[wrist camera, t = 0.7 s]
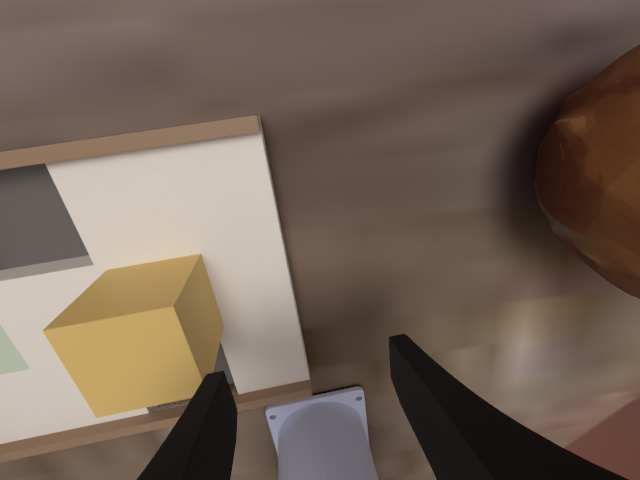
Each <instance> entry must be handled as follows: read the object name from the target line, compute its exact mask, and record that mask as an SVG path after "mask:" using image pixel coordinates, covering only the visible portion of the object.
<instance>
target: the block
mask: <svg viewBox="0 0 640 480" xmlns="http://www.w3.org/2000/svg"><path fill="white" fill-rule="evenodd" d="M223 329H224V324H223V321H222V318H221V315H220V312H219V308H218V305H217V302H216V299H215V296H214V293H213V290H212V287H211V283H210V280H209V277H208V274H207V271H206V268H205V265H204V262H203V258H202V255H201V254H195V255H190V256H184V257H178V258H172V259H166V260H161V261H155V262H149V263H143V264H138V265H132V266H126V267H120V268H115V269H109V270H106V271H105V272H104V273H103V274H102V275H101V276H100V277H99V278H98V279H97V280H96V281H94V282H93V283H92V284H91V285H90V286H89V287H88V288H87V289H86V290H85V291H84V292H83V293H82V294H81V295H80V296H79V297H77V298H76V299H75V300H74V301H73V302H72V303H71V304H70V305H69V306H68V307H67V308H66V309H65V310H64V311H63V312H61V313H60V314H59V315H58V316H57V317H56V318H55V319H54V320H53V321H52V322H51V323H50V324H49V325H48V326H47V327H46V328H44V329H43V330H42V331H43V333H44V334H45V336H46V337H47V339H48V341H49V342H50V344H51V346H52V347H53V349H54V350H55V352H56V354H57V355H58V357H59V358H60V360H61V362H62V363H63V365H64V366H65V368H66V370H67V371H68V373H69V374H70V376H71V378H72V379H73V381H74V382H75V384H76V386H77V387H78V389H79V391H80V392H81V394H82V395H83V397H84V399H85V400H86V402H87V403H88V405H89V407H90V408H91V410H92V411H93V413H94V415H95V416H96V418H98V417H103V416H108V415H112V414H117V413H122V412H127V411H132V410H136V409H141V408H146V407H151V406H156V405H161V404H165V403H170V402H175V401H180V400H185V399H189V398H192V397H193V396H194V394H195V392H196V391H197V389H198V387H199V386H200V384H201V382H202V381H203V379H204V377H205V376H206V375H207V374H209V373H213V371H214V367H215V362H216V358H217V354H218V350H219V345H220V341H221V337H222V333H223Z"/></svg>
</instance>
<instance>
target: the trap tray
mask: <svg viewBox="0 0 640 480" xmlns="http://www.w3.org/2000/svg"><path fill="white" fill-rule="evenodd" d="M195 254H201V255H202V258H203V262H204V265H205V268H206V271H207V274H208V277H209V280H210V283H211V287H212V290H213V293H214V296H215V299H216V302H217V305H218V308H219V312H220V315H221V318H222V321H223V324H224V329H223V333H222V337H221V341H220V345H219V350H218V354H217V358H216V362H215V367H214V371H213V373H214V372H219V371H224V372H225V375H226V378H227V381H228V384H229V385H230V384H235V386H236V389H237V392H238V395H233V398H234V401H235V404H236V407H237V412H241V411H245V410H250V409H255V408H259V407H264V406H269V405H273V404H278V403H283V402H288V401H292V400H297V399H302V398H306V397H311V396H312V389H311V382H310V374H309V367H308V361H307V356H306V351H305V346H304V341H303V335H302V330H301V325H300V320H299V315H298V310H297V305H296V299H295V294H294V289H293V284H292V279H291V274H290V269H289V263H288V258H287V253H286V248H285V243H284V238H283V233H282V227H281V222H280V217H279V212H278V207H277V202H276V197H275V191H274V186H273V181H272V176H271V171H270V166H269V161H268V155H267V150H266V145H265V140H264V135H263V130H262V125H261V119H260V115H255V116H248V117H241V118H234V119H227V120H220V121H213V122H206V123H199V124H192V125H185V126H178V127H171V128H164V129H157V130H150V131H143V132H136V133H129V134H122V135H115V136H108V137H101V138H94V139H87V140H80V141H73V142H66V143H59V144H52V145H45V146H38V147H31V148H24V149H17V150H10V151H3V152H0V463H2V462H6V461H11V460H16V459H20V458H25V457H30V456H34V455H39V454H44V453H48V452H53V451H58V450H63V449H67V448H72V447H77V446H81V445H86V444H91V443H95V442H100V441H105V440H109V439H114V438H119V437H123V436H128V435H133V434H138V433H142V432H147V431H152V430H156V429H161V428H166V427H170V426H175V424H176V423H177V421H178V420H179V418H180V417H181V415H182V413H183V412H184V410H185V409H186V407H187V405H185V406H180V407H176V408H171V409H166V410H161V411H157V412H156V410H157V408H158V405H156V406H151V407H146V408H141V409H136V410H132V411H127V412H122V413H117V414H112V415H108V416H103V417H98V418H96V416H95V415H94V413H93V411H92V410H91V408H90V407H89V405H88V403H87V402H86V400H85V399H84V397H83V395H82V394H81V392H80V391H79V389H78V387H77V386H76V384H75V382H74V381H73V379H72V378H71V376H70V374H69V373H68V371H67V370H66V368H65V366H64V365H63V363H62V362H61V360H60V358H59V357H58V355H57V354H56V352H55V350H54V349H53V347H52V346H51V344H50V342H49V341H48V339H47V337H46V336H45V334H44V333H43V331H42V330H43V329H44V328H46V327H47V326H48V325H49V324H50V323H51V322H52V321H53V320H54V319H55V318H56V317H57V316H58V315H59V314H60V313H61V312H63V311H64V310H65V309H66V308H67V307H68V306H69V305H70V304H71V303H72V302H73V301H74V300H75V299H76V298H77V297H79V296H80V295H81V294H82V293H83V292H84V291H85V290H86V289H87V288H88V287H89V286H90V285H91V284H92V283H93V282H94V281H96V280H97V279H98V278H99V277H100V276H101V275H102V274H103V273H104V272H105V271H106V270H109V269H115V268H120V267H126V266H132V265H138V264H143V263H149V262H155V261H161V260H166V259H172V258H178V257H184V256H190V255H195Z"/></svg>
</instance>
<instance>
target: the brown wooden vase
mask: <svg viewBox="0 0 640 480" xmlns="http://www.w3.org/2000/svg"><path fill="white" fill-rule="evenodd" d="M535 192H536V195H537V198H538V201H539V206H540V210H541V212H542V214H543V216H544V217H545V219H546V220H547V222H548V224H549V225H550V227H551V229H552V231H553V232H554V234H555V235H556V236H557V237H558V238H559V239H560V240H561V241H562V242H563V243H564V244H565V245H566V246H567V247H568V248H569V249H570V250H571V251H572V252H573V253H574V254H575V255H576V256H578V257H579V258H580V259H581V260H582V261H583V262H585V263H586V264H587V265H588V266H590V267H591V268H592V269H593V270H595V271H596V272H597V273H598V274H600V275H601V276H602V277H603V278H605V279H606V280H607V281H608V282H610V283H611V284H613V285H615V286H616V287H618V288H620V289H621V290H623V291H624V292H626V293H628V294H630V295H632V296H634V297H637V298H639V299H640V45H638V46H637V47H635V48H634V49H632V50H630V51H629V52H627V53H626V54H624V55H623V56H621V57H620V58H619V59H617V60H616V61H614V62H613V63H612V64H611V65H610V66H608V67H607V68H606V69H605V70H604V71H603V72H601V73H600V74H599V75H598V76H597V77H596V78H595V79H593V80H592V81H591V82H590V83H589V84H587V85H586V86H584V87H583V88H581V89H579V90H578V91H576V92H574V93H572V94H570V95H569V96H568V97H566V98H565V99H564V100H563V102H562V106H561V110H560V113H559V116H558V118H557V119H556V121H555V123H554V124H552V125H551V127H550V128H549V130H548V131H547V133H546V135H545V137H544V139H543V140H542V142H541V143H540V145H539V150H538V155H537V162H536V173H535Z"/></svg>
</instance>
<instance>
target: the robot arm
mask: <svg viewBox="0 0 640 480" xmlns="http://www.w3.org/2000/svg"><path fill="white" fill-rule="evenodd" d="M389 350H390V370H391V379H392V381H393V384H394V387H395V390H396V393H397V395H398V398H399V401H400V404H401V406H402V408H403V410H404V412H405V414H406V416H407V418H408V420H409V422H410V424H411V427H412V429H413V431H414V433H415V435H416V437H417V439H418V441H419V443H420V445H421V447H422V449H423V451H424V453H425V455H426V457H427V459H428V461H429V463H430V465H431V468H432V470H433V472H434V474H435V477H436V479H437V480H628V479H626V478H624V477H622V476H619V475H617V474H615V473H613V472H611V471H609V470H606V469H604V468H602V467H600V466H598V465H595V464H593V463H591V462H589V461H587V460H585V459H583V458H581V457H580V456H577V455H576V454H574V453H572V452H570V451H568V450H566V449H564V448H562V447H560V446H558V445H556V444H555V443H553V442H551V441H549V440H548V439H546V438H544V437H542V436H541V435H539V434H537V433H535V432H534V431H532V430H530V429H528V428H527V427H525V426H523V425H521V424H520V423H518V422H517V421H515V420H513V419H512V418H510V417H509V416H507V415H505V414H504V413H502V412H501V411H499V410H498V409H496V408H495V407H493V406H492V405H490V404H489V403H488V402H486V401H485V400H483V399H482V398H481V397H479V396H478V395H476V394H475V393H474V392H472V391H471V390H470V389H468V388H467V387H466V386H464V385H463V384H462V383H461V382H459V381H458V380H457V379H456V378H454V377H453V376H452V375H451V374H449V373H448V372H447V371H446V370H445V369H443V368H442V367H441V366H440V365H439V364H437V363H436V362H435V361H434V360H433V359H432V358H431V357H430V356H428V355H427V354H426V353H425V352H424V351H423V350H422V349H421V348H420V347H419V346H417V345H416V344H415V343H414V342H413V341H412V340H411V339H410V338H409V337H408V336H407V335H405V334H401V335H396V336H391V337H389ZM266 417H267V421H268V424H269V427H270V431H271V434H272V438H273V441H274V444H275V448H276V451H277V455H278V480H379V479H378V476H377V472H376V469H375V465H374V461H373V458H372V454H371V451H370V446H369V436H368V427H367V417H366V407H365V397H364V391H363V388H362V387H360V386H356V387H351V388H347V389H342V390H337V391H333V392H328V393H323V394H319V395H314V396H311V397H306V398H302V399H297V400H292V401H288V402H283V403H278V404H273V405H269V406H267V407H266ZM236 432H237V407H236V404H235V401H234V398H233V395H232V392H231V390H230V387H229V384H228V381H227V378H226V375H225V372H224V371H219V372H214V373H209V374H207V375H206V376H205V377H204V379H203V381H202V382H201V384H200V386H199V387H198V389H197V391H196V392H195V394H194V396H193V397H192V399H191V401H190V402H189V404H188V405H187V407H186V409H185V410H184V412H183V413H182V415H181V417H180V418H179V420H178V421H177V423H176V424H175V426H174V427H173V429H172V431H171V432H170V434H169V435H168V437H167V438H166V440H165V441H164V442H163V444H162V445H161V447H160V448H159V450H158V451H157V452H156V454H155V455H154V457H153V458H152V460H151V461H150V462H149V464H148V465H147V467H146V468H145V469H144V471H143V472H142V473H141V475H140V476H139V477H138V479H137V480H230V477H231V471H232V464H233V458H234V451H235V444H236Z"/></svg>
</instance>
